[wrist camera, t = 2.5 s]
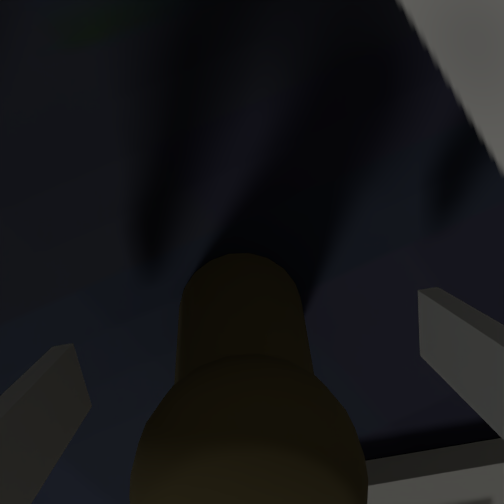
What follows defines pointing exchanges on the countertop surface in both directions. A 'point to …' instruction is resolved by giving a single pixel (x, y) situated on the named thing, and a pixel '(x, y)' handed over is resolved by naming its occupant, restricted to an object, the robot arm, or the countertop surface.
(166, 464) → the cork
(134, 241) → the countertop surface
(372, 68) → the countertop surface
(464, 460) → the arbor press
